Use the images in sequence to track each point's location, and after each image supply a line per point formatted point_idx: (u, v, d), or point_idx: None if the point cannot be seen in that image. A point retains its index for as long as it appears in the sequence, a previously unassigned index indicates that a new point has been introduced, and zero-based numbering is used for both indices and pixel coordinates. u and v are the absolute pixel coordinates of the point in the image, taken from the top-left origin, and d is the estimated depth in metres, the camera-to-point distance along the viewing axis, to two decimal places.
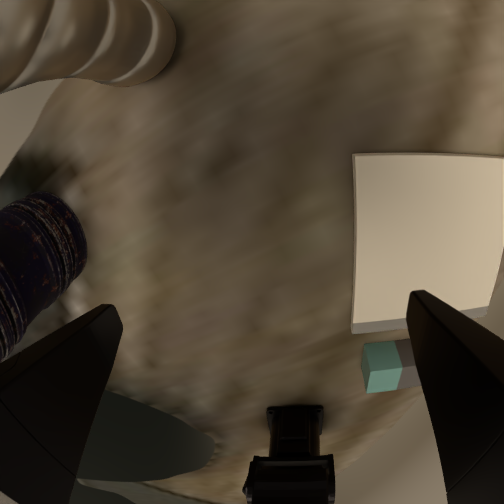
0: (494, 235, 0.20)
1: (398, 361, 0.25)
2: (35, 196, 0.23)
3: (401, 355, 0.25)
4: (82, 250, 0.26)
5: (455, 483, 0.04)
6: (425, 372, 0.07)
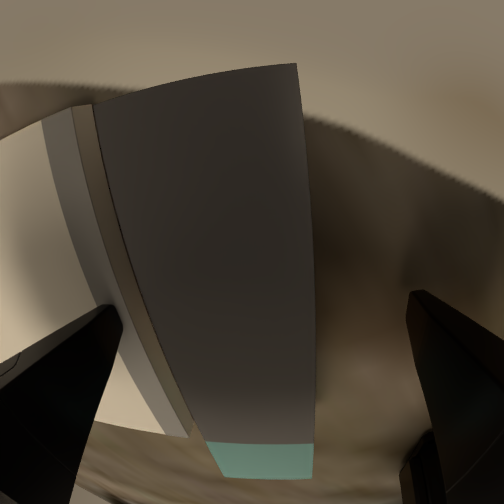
0: None
1: None
2: None
3: None
4: None
5: (455, 483, 0.04)
6: (425, 372, 0.07)
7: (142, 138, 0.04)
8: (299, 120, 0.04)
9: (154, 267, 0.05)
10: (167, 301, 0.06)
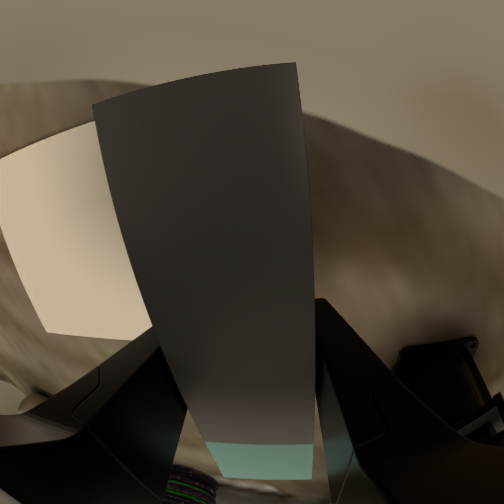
0: (42, 164, 0.15)
1: None
2: None
3: None
4: (181, 470, 0.31)
5: None
6: (315, 385, 0.07)
7: (141, 138, 0.04)
8: (299, 120, 0.04)
9: (153, 267, 0.05)
10: (166, 301, 0.06)
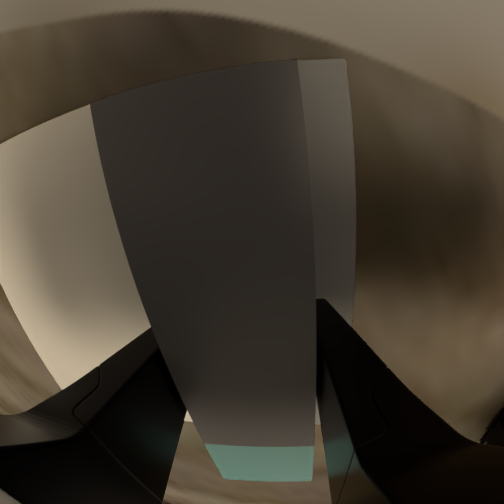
0: (61, 160, 0.08)
1: None
2: None
3: None
4: None
5: None
6: (316, 385, 0.07)
7: (139, 136, 0.04)
8: (299, 117, 0.04)
9: (151, 268, 0.05)
10: (165, 302, 0.06)
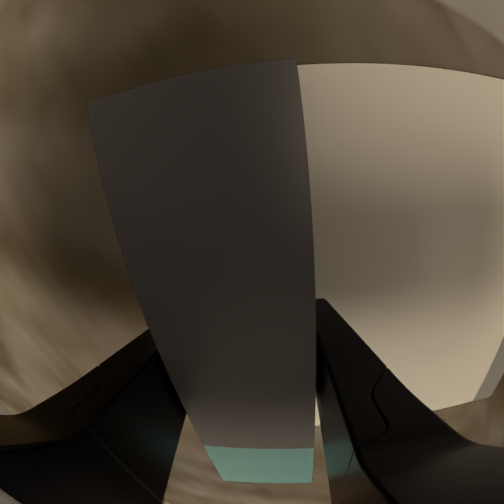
0: (338, 117, 0.07)
1: None
2: None
3: None
4: None
5: None
6: None
7: (136, 136, 0.04)
8: (299, 117, 0.04)
9: (149, 270, 0.05)
10: (163, 304, 0.06)
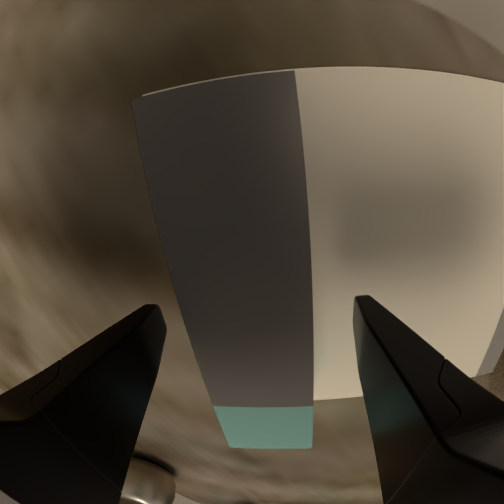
0: (357, 112, 0.08)
1: None
2: None
3: None
4: None
5: (389, 500, 0.05)
6: (364, 381, 0.07)
7: (172, 127, 0.06)
8: (296, 114, 0.05)
9: (178, 233, 0.07)
10: (187, 263, 0.07)
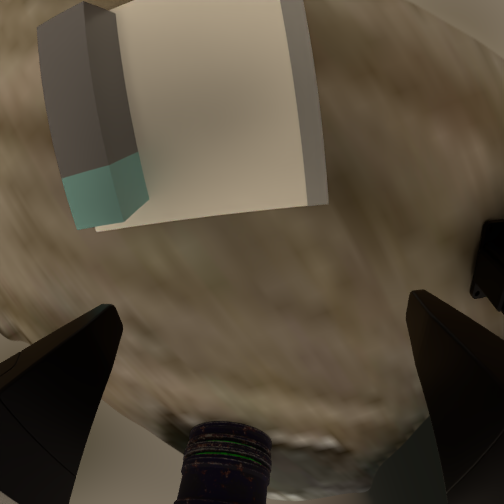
0: (145, 16, 0.13)
1: None
2: None
3: None
4: (233, 428, 0.29)
5: (455, 483, 0.04)
6: (425, 372, 0.07)
7: (48, 32, 0.10)
8: (83, 14, 0.10)
9: (46, 70, 0.11)
10: (49, 82, 0.12)
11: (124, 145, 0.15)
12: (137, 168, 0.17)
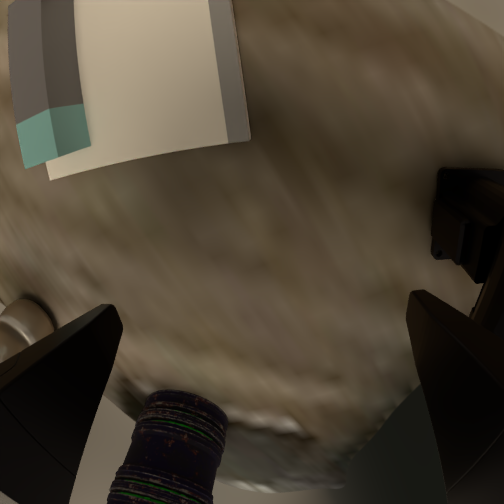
0: None
1: None
2: None
3: None
4: (185, 397, 0.29)
5: (455, 484, 0.04)
6: (425, 372, 0.07)
7: (15, 8, 0.10)
8: None
9: (12, 38, 0.11)
10: (13, 47, 0.12)
11: (68, 96, 0.15)
12: (80, 117, 0.17)
